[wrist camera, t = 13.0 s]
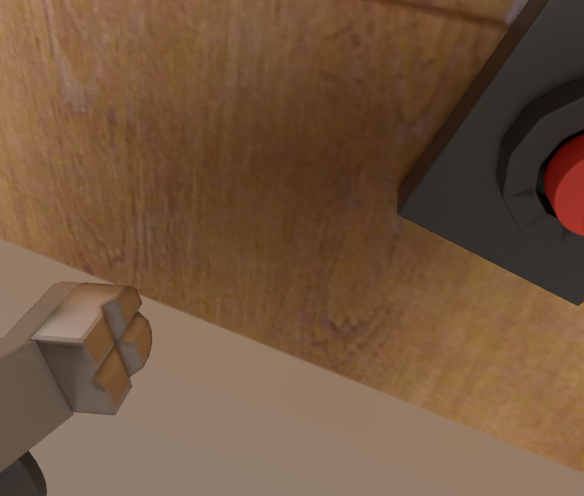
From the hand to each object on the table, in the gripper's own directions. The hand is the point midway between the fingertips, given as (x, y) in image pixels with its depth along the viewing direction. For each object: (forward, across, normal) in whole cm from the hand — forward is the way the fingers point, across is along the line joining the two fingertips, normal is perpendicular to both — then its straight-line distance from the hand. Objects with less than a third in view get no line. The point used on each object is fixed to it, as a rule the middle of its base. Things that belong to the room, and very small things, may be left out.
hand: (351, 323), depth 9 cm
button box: (+16, -8, +3) cm, 18 cm away
